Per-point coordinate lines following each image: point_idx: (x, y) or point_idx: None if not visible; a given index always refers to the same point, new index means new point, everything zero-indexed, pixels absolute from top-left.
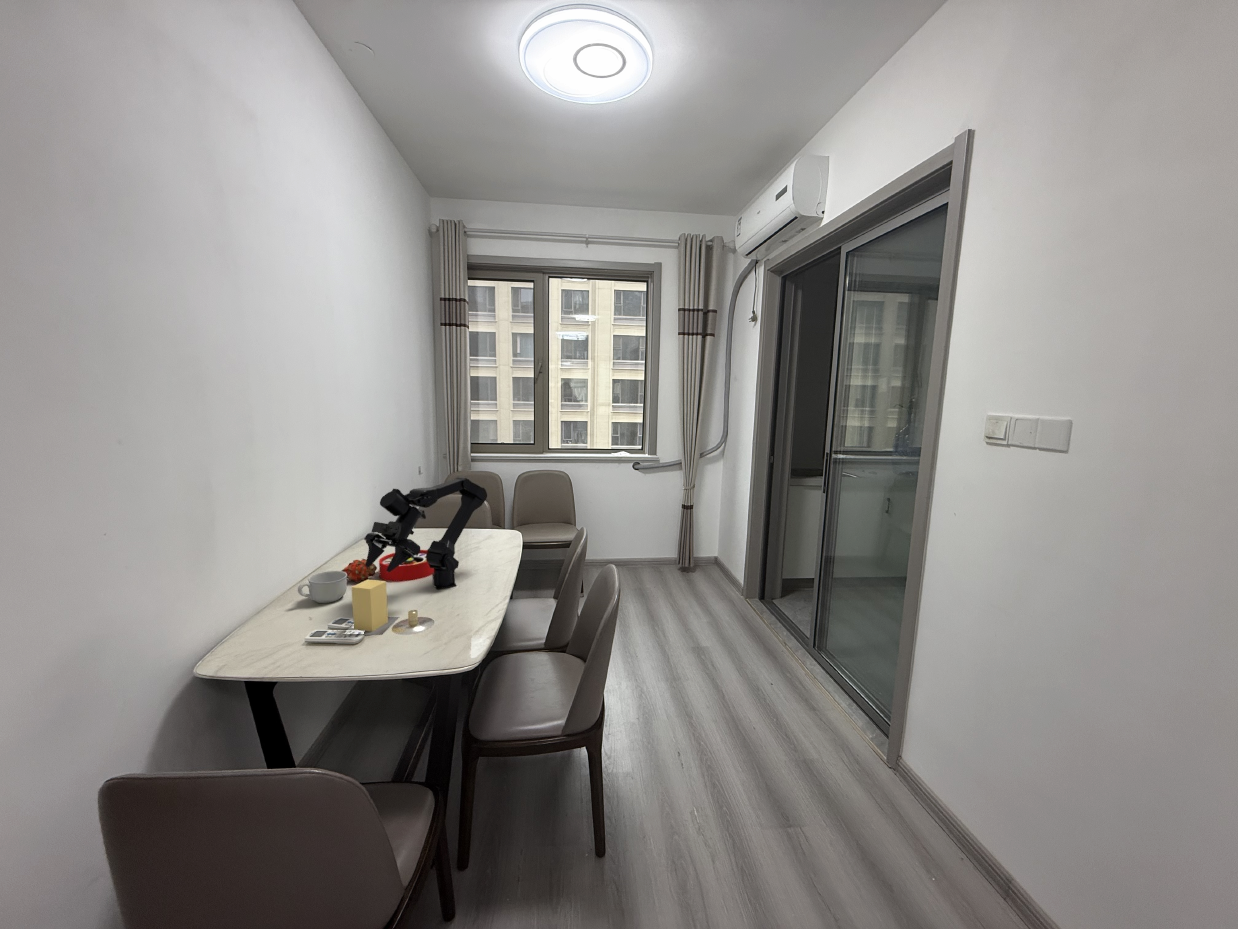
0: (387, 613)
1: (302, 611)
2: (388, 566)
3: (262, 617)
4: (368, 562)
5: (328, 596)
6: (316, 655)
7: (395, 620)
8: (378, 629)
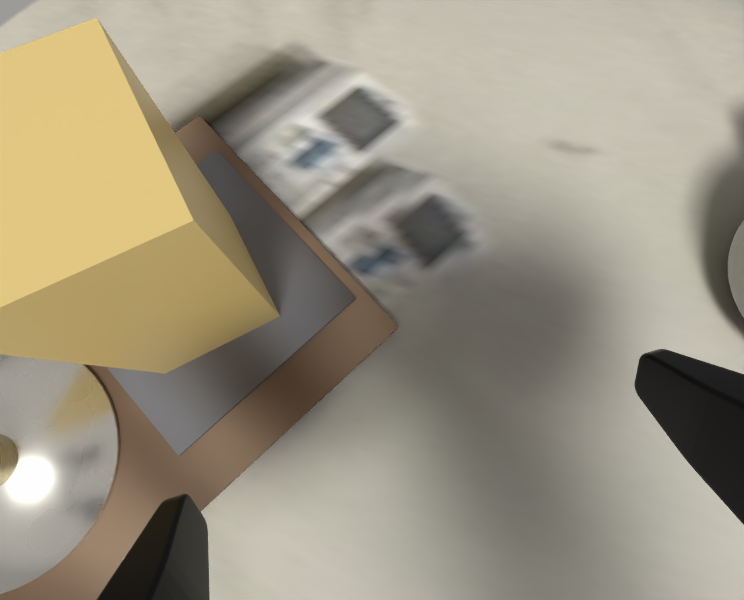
0: (138, 369)
1: (690, 149)
2: (152, 557)
3: (724, 23)
4: (694, 397)
5: (742, 244)
6: (148, 49)
7: (149, 414)
8: None
